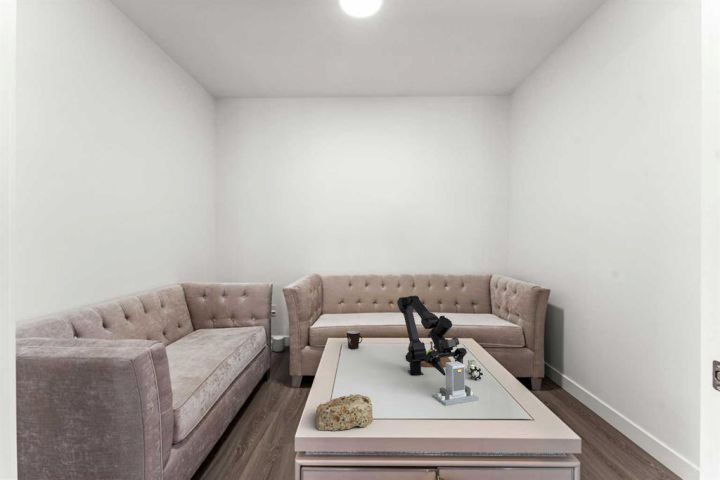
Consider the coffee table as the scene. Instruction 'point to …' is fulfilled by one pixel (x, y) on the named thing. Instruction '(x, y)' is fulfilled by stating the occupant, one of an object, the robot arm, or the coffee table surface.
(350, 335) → the coffee mug
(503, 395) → the coffee table surface
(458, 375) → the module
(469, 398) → the rail
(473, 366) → the valve
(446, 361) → the plant
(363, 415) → the rock
